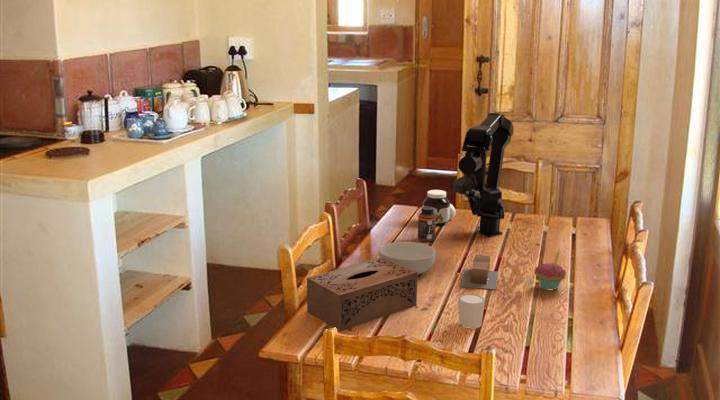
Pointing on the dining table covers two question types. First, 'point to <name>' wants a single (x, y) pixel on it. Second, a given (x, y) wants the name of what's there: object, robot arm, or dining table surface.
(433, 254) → the cereal bowl
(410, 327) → the dining table surface
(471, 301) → the white cup
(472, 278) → the walnut block
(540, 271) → the cupcake
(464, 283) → the felt mat
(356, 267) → the tissue box cover
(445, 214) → the spread jar
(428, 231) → the supplement bottle
